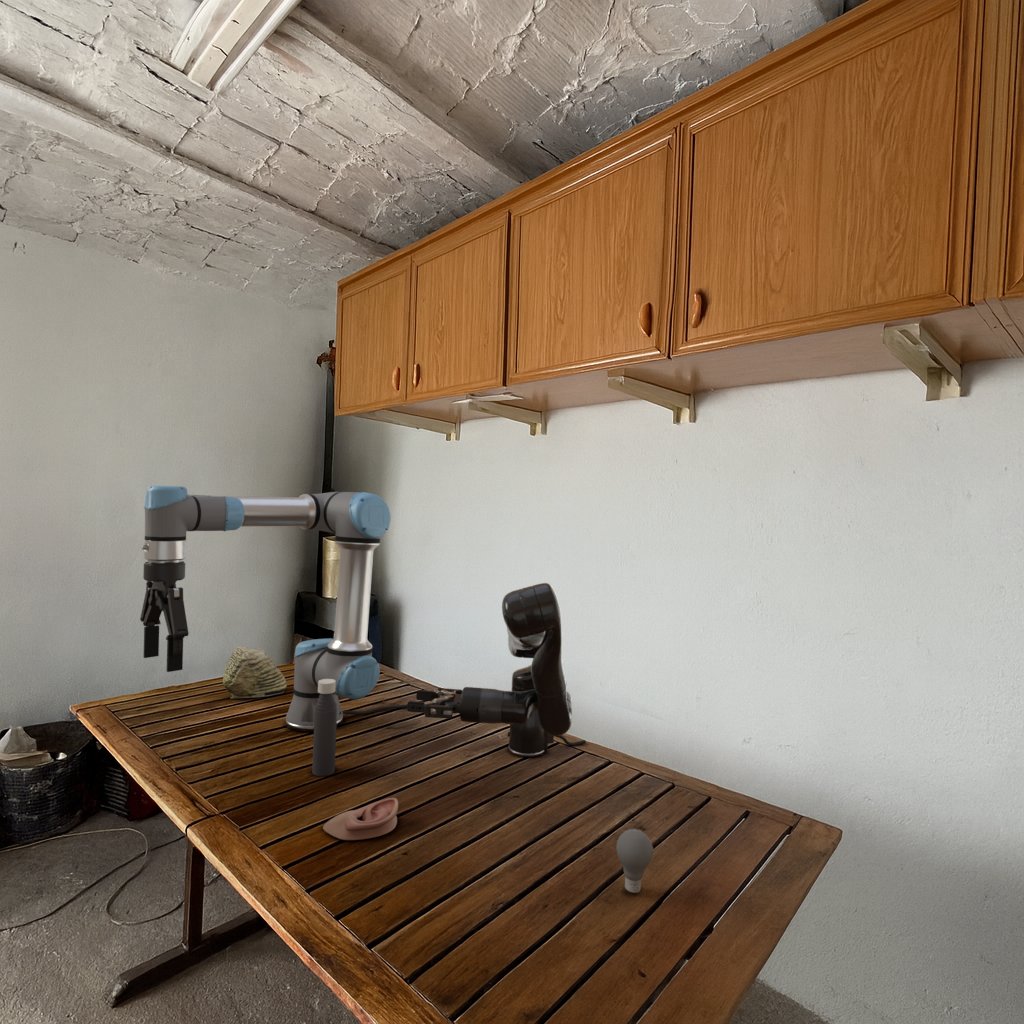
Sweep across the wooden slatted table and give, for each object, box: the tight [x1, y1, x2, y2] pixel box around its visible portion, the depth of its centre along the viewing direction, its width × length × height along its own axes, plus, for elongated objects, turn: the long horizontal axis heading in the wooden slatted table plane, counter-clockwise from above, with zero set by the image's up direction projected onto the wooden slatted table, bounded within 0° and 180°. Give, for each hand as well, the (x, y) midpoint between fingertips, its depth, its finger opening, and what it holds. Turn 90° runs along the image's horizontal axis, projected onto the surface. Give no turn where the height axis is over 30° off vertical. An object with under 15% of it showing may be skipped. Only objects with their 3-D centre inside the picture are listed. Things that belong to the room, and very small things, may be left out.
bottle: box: [311, 693, 337, 777], centre depth 146 cm, size 5×5×21 cm
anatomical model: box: [322, 797, 399, 841], centre depth 122 cm, size 13×4×12 cm
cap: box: [318, 679, 336, 694], centre depth 146 cm, size 4×4×2 cm
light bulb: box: [615, 828, 654, 894], centre depth 106 cm, size 6×6×10 cm
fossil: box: [222, 646, 288, 699], centre depth 198 cm, size 9×18×15 cm, turn 132°
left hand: (162, 663), depth 130 cm, fingers open, 13 cm apart
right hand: (412, 700), depth 144 cm, fingers open, 8 cm apart
